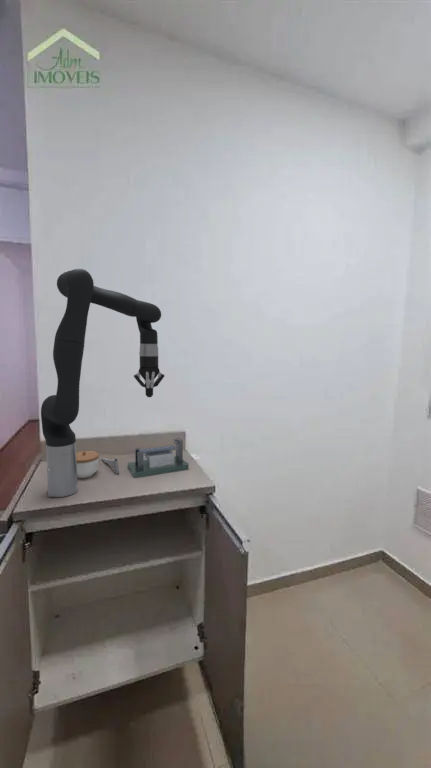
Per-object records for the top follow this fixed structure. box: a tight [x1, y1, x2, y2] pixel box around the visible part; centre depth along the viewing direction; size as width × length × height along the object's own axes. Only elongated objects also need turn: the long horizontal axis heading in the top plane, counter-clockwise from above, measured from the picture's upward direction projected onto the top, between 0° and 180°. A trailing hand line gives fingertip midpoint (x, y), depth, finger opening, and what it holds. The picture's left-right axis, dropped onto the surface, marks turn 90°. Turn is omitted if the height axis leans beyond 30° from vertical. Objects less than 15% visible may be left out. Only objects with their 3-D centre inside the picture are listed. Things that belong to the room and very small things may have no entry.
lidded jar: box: [76, 450, 100, 479], centre depth 134 cm, size 11×11×9 cm
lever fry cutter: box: [127, 437, 189, 479], centre depth 141 cm, size 22×12×11 cm, turn 115°
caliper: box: [101, 457, 120, 475], centre depth 143 cm, size 20×1×6 cm, turn 34°
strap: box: [138, 444, 176, 455], centre depth 141 cm, size 14×3×1 cm, turn 115°
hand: (149, 396), depth 145 cm, fingers closed
